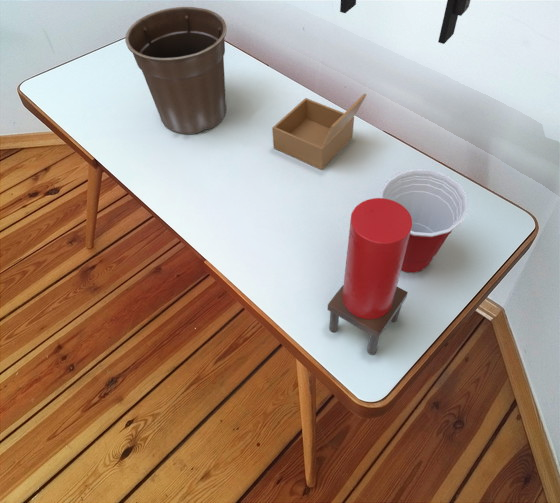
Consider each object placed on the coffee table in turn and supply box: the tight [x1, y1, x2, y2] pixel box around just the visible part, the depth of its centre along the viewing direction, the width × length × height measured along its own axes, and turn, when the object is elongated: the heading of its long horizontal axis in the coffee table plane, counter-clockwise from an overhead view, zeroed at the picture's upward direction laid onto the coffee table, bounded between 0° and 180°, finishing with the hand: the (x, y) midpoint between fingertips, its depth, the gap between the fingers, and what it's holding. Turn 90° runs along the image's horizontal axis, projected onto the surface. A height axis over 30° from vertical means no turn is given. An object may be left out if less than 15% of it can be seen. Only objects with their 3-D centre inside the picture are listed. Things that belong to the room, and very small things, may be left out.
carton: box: [272, 97, 355, 171], centre depth 87 cm, size 10×10×4 cm
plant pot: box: [124, 6, 228, 135], centre depth 89 cm, size 16×16×16 cm
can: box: [342, 197, 412, 319], centre depth 56 cm, size 6×6×14 cm
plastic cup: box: [379, 168, 469, 274], centre depth 68 cm, size 11×11×12 cm
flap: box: [322, 92, 367, 146], centre depth 81 cm, size 5×10×1 cm
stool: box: [327, 283, 409, 356], centre depth 64 cm, size 7×7×6 cm
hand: (394, 22), depth 64 cm, fingers open, 13 cm apart
